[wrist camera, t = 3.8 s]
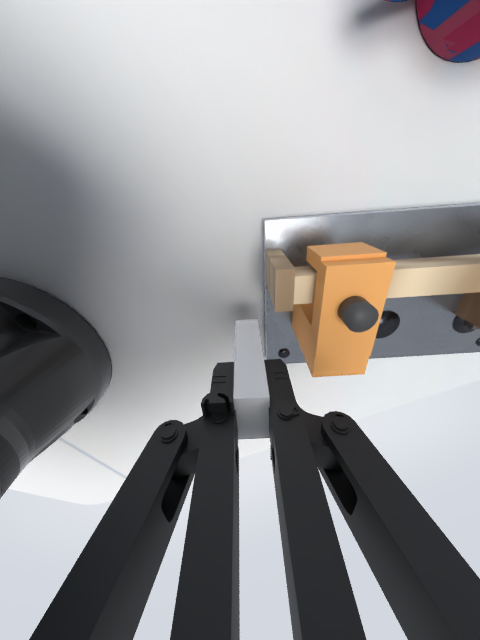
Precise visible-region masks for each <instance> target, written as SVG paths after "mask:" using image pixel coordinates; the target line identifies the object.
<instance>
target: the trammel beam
mask: <svg viewBox="0 0 480 640" xmlns="http://www.w3.org/2000/svg"><path fill="white" fill-rule="evenodd" d="M394 261H396V265H395V268H394V272H393V276H392V279H391V283H390V286H389V290H388V294H387V297H386V298H400V297H415V296H430V295H445V294H461V293H464V294H463V296H462V298H461V300H460V303H459V305H458V307H457V309H456V311H455V315H457V316H459V317H461V318H462V319H464V320H466V322H465V324H464V326H466V327H468V328H469V329H471V330H475V329H480V254H473V255H459V256H444V257H430V258H415V259H401V260H394ZM316 275H317V271H316V270H315V269H314V268H313V267H312V266H300V267H294V266H293V265H292V264H291V262H290V261H289V260H288V258H287V257H286V255H285V254H284V253H283V251H282V250H281V249H266V285H267V288H268V291H269V294H270V297H271V300H272V304H273V307H274V310H275V312H284V311H293V304H308V303H314V295H315V285H316Z"/></svg>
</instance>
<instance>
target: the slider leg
mask: <svg viewBox="0 0 480 640" xmlns="http://www.w3.org/2000/svg"><path fill="white" fill-rule="evenodd" d="M386 254H387V252H384V251H382V250H380V249H377V248H375V247H373V246H370V245H368V244H365V243H363V242H356V243H342V244H328V245H314V246H307V257H306V261H307V262H308V263H309V264H310V265H311V266H312V267H313V268H314V269H315V270H316V271H317V275H316V285H315V295H314V303H308V304H293V315H292V328H293V330H294V333H295V335H296V338H297V340H298V343H299V345H300V348H301V350H302V353H303V355H304V357H305V360H306V362H307V365H308V367H309V370H310V372H311V375H312V377H322V376H339V375H356V374H364V373H365V370H366V366H367V362H368V359H369V356H371V352H372V349H373V345H374V341H375V338H376V334H377V330H378V327H379V323H380V319H381V316H382V312H383V308H384V305H385V301H386V297H387V294H388V290H389V286H390V283H391V279H392V276H393V272H394V268H395V265H396V261H394V260H392V259H389V258H387V257H386Z"/></svg>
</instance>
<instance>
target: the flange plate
mask: <svg viewBox="0 0 480 640" xmlns="http://www.w3.org/2000/svg"><path fill="white" fill-rule="evenodd" d="M263 226H264V293H265V357H266V360H268V359H281V360H282V361H283V362H284V363H285V364H287V363H304V362H306V360H305V357H304V355H303V353H302V350H301V348H300V345H299V343H298V340H297V338H296V335H295V333H294V330H293V328H292V315H293V311H284V312H275V310H274V307H273V304H272V300H271V297H270V294H269V291H268V288H267V285H266V249H281V250H282V251H283V253H284V254H285V255H286V257H287V258H288V260H289V261H290V262H291V264H292V265H293V266H294V267H300V266H311V265H310V264H309V263H308V262H307V261H306V257H307V246H314V245H328V244H342V243H356V242H363V243H365V244H368V245H370V246H373V247H375V248H377V249H380V250H382V251H384V252H387V254H386V257H387V258H389V259H392V260H401V259H415V258H430V257H444V256H459V255H473V254H480V203H471V204H457V205H444V206H430V207H417V208H403V209H390V210H376V211H363V212H349V213H336V214H322V215H309V216H295V217H282V218H268V219H263ZM463 294H464V293H461V294H445V295H430V296H415V297H400V298H386V301H385V305H384V308H383V312H382V316H381V319H380V323H379V327H378V330H377V334H376V338H375V341H374V345H373V349H372V352H371V356H369V359H371V358H387V357H404V356H421V355H437V354H454V353H471V352H480V329H475V330H471V329H469V328H468V327H466V326H464V324H465V322H466V320H464V319H462V318H461V317H459V316H457V315H455V311H456V309H457V307H458V305H459V303H460V300H461V298H462V296H463Z"/></svg>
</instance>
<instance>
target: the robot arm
mask: <svg viewBox="0 0 480 640" xmlns="http://www.w3.org/2000/svg"><path fill="white" fill-rule="evenodd" d="M111 373H112V369H111V362H110V358H109V355H108V352H107V350H106V348H105V346H104V344H103V342H102V340H101V339H100V337H99V336H98V335H97V333H96V332H95V331H94V329H93V328H92V327H91V326H90V325H89V324H88V323H87V322H86V321H85V320H84V319H83V318H82V317H81V316H80V315H79V314H77V313H76V312H75V311H74V310H73V309H71V308H70V307H68V306H67V305H66V304H64V303H63V302H61V301H59V300H58V299H56V298H54V297H53V296H51V295H49V294H47V293H45V292H43V291H41V290H39V289H37V288H34V287H32V286H29V285H26V284H23V283H20V282H17V281H13V280H9V279H5V278H0V498H1V497H2V496H3V494H4V493H5V492H6V490H7V489H8V488H9V486H10V485H11V484H12V483H13V481H14V480H15V479H16V478H17V476H18V475H19V474H20V472H21V471H22V470H23V469H24V467H25V466H26V465H27V464H28V463H29V462H31V461H32V460H33V459H34V458H35V457H37V456H38V455H39V454H40V453H41V452H43V451H44V450H45V449H46V448H48V447H49V446H50V445H51V444H52V443H54V442H55V441H56V440H57V439H58V438H60V437H61V436H62V435H63V434H64V433H65V432H66V431H68V430H69V429H70V428H71V427H72V426H73V425H74V424H75V423H77V422H79V421H80V420H82V419H83V418H84V417H85V416H87V415H88V414H89V413H90V412H91V411H92V410H93V409H94V407H95V406H96V405H97V403H98V402H99V400H100V399H101V397H102V395H103V394H104V392H105V391H106V389H107V388H108V386H109V383H110V380H111ZM201 407H202V412H203V416H202V417H200V418H199V419H197V420H195V421H192V422H190V423H187V424H184V425H183V423H182V422H180V421H178V420H170V421H167V422H164V423H163V424H161V425H160V426H159V427H158V428H157V429H156V430H155V431H154V433H153V435H152V436H151V438H150V440H149V441H148V443H147V445H146V446H145V448H144V450H143V451H142V453H141V455H140V456H139V458H138V460H137V461H136V463H135V465H134V466H133V468H132V470H131V471H130V473H129V475H128V476H127V478H126V480H125V481H124V483H123V485H122V486H121V488H120V490H119V491H118V493H117V495H116V496H115V498H114V500H113V501H112V503H111V505H110V506H109V508H108V510H107V511H106V513H105V515H104V516H103V518H102V520H101V521H100V523H99V525H98V526H97V528H96V530H95V532H94V533H93V535H92V536H91V538H90V540H89V541H88V543H87V545H86V546H85V548H84V549H83V551H82V553H81V554H80V556H79V558H78V559H77V561H76V563H75V565H74V566H73V568H72V569H71V571H70V573H69V574H68V576H67V578H66V580H65V581H64V583H63V585H62V586H61V588H60V589H59V591H58V593H57V594H56V596H55V598H54V599H53V601H52V603H51V604H50V606H49V608H48V609H47V611H46V613H45V614H44V616H43V618H42V620H41V621H40V623H39V624H38V626H37V628H36V629H35V631H34V633H33V634H32V636H31V638H30V639H29V640H133V637H134V635H135V632H136V630H137V627H138V624H139V621H140V619H141V616H142V613H143V611H144V608H145V605H146V603H147V600H148V597H149V594H150V592H151V589H152V587H153V584H154V581H155V579H156V576H157V573H158V571H159V568H160V565H161V562H162V560H163V557H164V555H165V552H166V549H167V546H168V544H169V541H170V539H171V536H172V533H173V531H174V528H175V525H176V523H177V520H178V517H179V514H180V512H181V509H182V506H183V504H184V501H185V498H186V496H187V493H188V490H189V488H190V485H191V482H192V480H193V477H194V474H195V478H194V485H193V491H192V498H191V504H190V511H189V518H188V524H187V531H186V538H185V544H184V551H183V558H182V565H181V571H180V577H179V584H178V591H177V597H176V604H175V610H174V617H173V624H172V630H171V637H170V640H239V449H238V439H255V438H270V442H271V460H272V465H273V474H274V481H275V490H276V499H277V507H278V514H279V523H280V532H281V540H282V547H283V556H284V565H285V573H286V581H287V589H288V597H289V606H290V614H291V622H292V630H293V638H294V640H366V637H365V633H364V630H363V626H362V623H361V619H360V615H359V612H358V608H357V605H356V601H355V598H354V594H353V591H352V587H351V584H350V580H349V577H348V573H347V570H346V566H345V562H344V559H343V555H342V552H341V549H340V545H339V541H338V538H337V534H336V531H335V527H334V524H333V520H332V517H331V513H330V510H329V506H328V502H327V499H326V495H325V492H324V488H323V485H322V482H321V478H320V474H319V471H318V469H319V470H320V472H321V474H322V476H323V478H324V480H325V482H326V484H327V486H328V487H329V490H330V491H331V493H332V495H333V497H334V499H335V501H336V503H337V505H338V507H339V509H340V511H341V512H342V514H343V516H344V518H345V520H346V522H347V524H348V526H349V528H350V530H351V531H352V533H353V536H354V537H355V539H356V541H357V543H358V545H359V547H360V549H361V550H362V553H363V554H364V557H365V558H366V560H367V562H368V564H369V566H370V568H371V570H372V572H373V574H374V576H375V578H376V579H377V581H378V583H379V585H380V587H381V589H382V591H383V593H384V595H385V597H386V599H387V601H388V602H389V604H390V606H391V608H392V610H393V612H394V614H395V616H396V618H397V620H398V622H399V623H400V625H401V627H402V629H403V631H404V633H405V635H406V636H407V639H408V640H480V579H479V577H478V576H477V575H476V574H475V572H474V571H473V570H472V569H471V567H470V566H469V565H468V563H467V562H466V561H465V560H464V558H463V557H462V556H461V555H460V553H459V552H458V551H457V550H456V548H455V547H454V546H453V545H452V543H451V542H450V541H449V540H448V538H447V537H446V536H445V534H444V533H443V532H442V531H441V529H440V528H439V527H438V526H437V525H436V523H435V522H434V521H433V520H432V518H431V517H430V516H429V514H428V513H427V512H426V511H425V509H424V508H423V507H422V506H421V504H420V503H419V502H418V501H417V499H416V498H415V497H414V495H413V494H412V493H411V492H410V490H409V489H408V488H407V487H406V485H405V484H404V483H403V482H402V480H401V479H400V478H399V476H398V475H397V474H396V473H395V471H394V470H393V469H392V468H391V466H390V465H389V464H388V463H387V461H386V460H385V459H384V458H383V456H382V455H381V454H380V453H379V451H378V450H377V449H376V447H375V446H374V445H373V444H372V442H371V441H370V440H369V439H368V437H367V436H366V435H365V434H364V432H363V431H362V430H361V429H360V428H359V426H358V425H357V423H356V422H355V421H354V420H353V419H352V418H351V417H350V416H348V415H346V414H344V413H341V412H337V411H335V412H329V413H327V414H325V416H324V417H321V416H317V415H313V414H310V413H307V412H305V411H304V410H302V409H301V408H300V407H299V406H298V404H297V402H296V400H295V396H294V392H293V389H292V385H291V381H290V378H289V374H288V370H287V367H286V364H285V363H284V362H283V361H282V360H281V359H268V360H264V356H263V350H262V343H261V336H260V330H259V323H258V319H251V320H235V353H234V362H225V363H218V364H217V365H216V366H215V368H214V369H213V376H212V384H211V390H210V393H209V394H207V395H206V396H205V397H204V398H203V399H202V402H201Z"/></svg>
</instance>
